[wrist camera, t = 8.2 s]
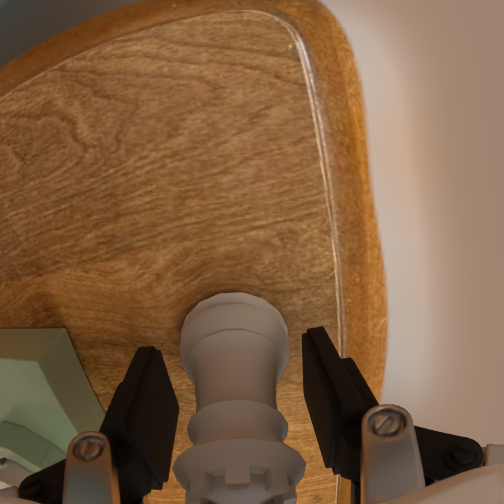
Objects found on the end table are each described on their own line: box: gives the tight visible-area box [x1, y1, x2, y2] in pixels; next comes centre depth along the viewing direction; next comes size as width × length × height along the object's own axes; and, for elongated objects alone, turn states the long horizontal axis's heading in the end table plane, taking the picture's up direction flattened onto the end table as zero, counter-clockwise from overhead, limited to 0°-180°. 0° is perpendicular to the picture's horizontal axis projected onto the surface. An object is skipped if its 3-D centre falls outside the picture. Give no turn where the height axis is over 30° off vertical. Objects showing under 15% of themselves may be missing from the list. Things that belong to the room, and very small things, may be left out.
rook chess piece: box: [172, 292, 306, 504], centre depth 9 cm, size 4×4×8 cm
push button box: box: [0, 328, 106, 473], centre depth 11 cm, size 12×10×5 cm
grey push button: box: [0, 458, 34, 489], centre depth 9 cm, size 4×4×2 cm
